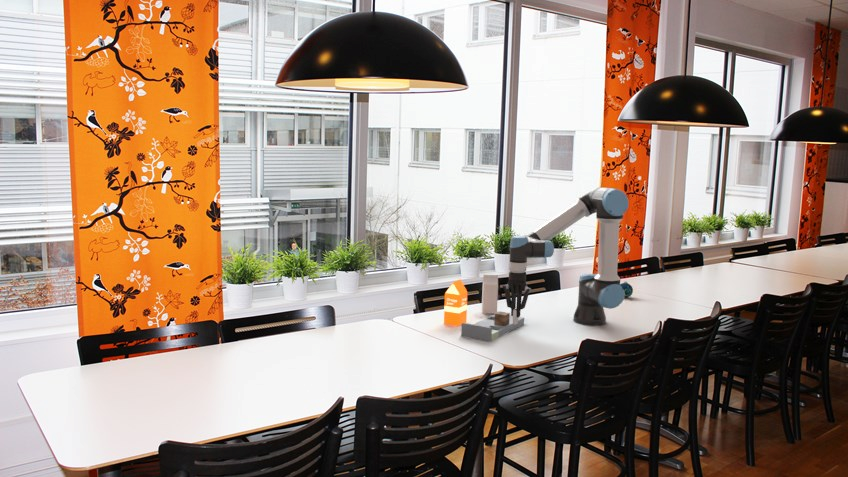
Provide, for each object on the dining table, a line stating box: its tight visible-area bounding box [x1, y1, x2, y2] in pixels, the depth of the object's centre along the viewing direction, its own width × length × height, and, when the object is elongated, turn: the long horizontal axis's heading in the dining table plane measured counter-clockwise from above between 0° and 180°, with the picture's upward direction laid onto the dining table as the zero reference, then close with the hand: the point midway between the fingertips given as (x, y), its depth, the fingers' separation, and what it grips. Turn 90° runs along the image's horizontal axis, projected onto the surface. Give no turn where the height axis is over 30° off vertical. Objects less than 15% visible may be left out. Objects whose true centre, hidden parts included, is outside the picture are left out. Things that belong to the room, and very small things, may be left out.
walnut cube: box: [494, 311, 511, 326], centre depth 297 cm, size 5×5×5 cm
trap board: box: [460, 314, 525, 343], centre depth 298 cm, size 14×36×6 cm, turn 149°
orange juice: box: [443, 279, 468, 327], centre depth 308 cm, size 8×9×20 cm
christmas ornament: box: [620, 280, 634, 299], centre depth 372 cm, size 8×8×10 cm
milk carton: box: [481, 274, 499, 315], centre depth 330 cm, size 7×7×19 cm
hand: (515, 323), depth 293 cm, fingers closed
